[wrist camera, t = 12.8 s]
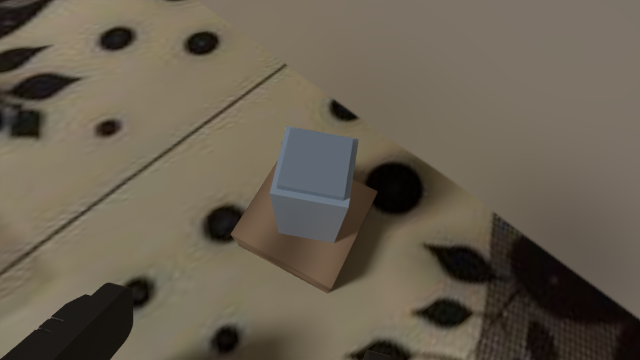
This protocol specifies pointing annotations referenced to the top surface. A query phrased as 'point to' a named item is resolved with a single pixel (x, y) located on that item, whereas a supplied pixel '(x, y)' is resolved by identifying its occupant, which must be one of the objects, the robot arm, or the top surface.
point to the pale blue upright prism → (313, 183)
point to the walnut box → (297, 252)
